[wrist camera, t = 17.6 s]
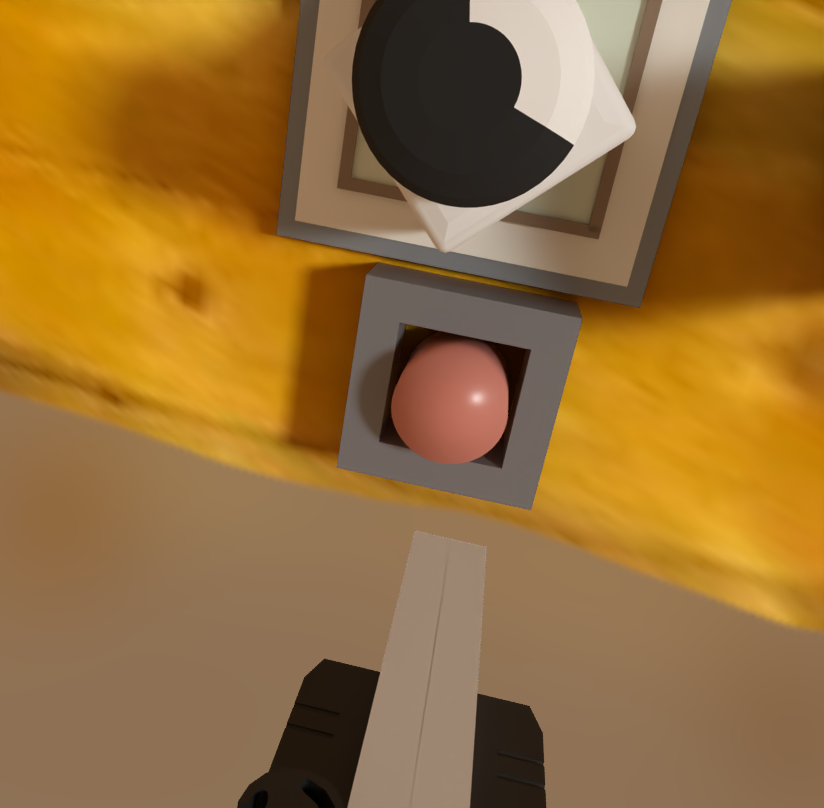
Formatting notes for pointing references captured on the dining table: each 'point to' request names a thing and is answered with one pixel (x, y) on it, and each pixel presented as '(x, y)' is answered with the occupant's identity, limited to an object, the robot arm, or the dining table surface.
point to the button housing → (473, 317)
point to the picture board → (547, 213)
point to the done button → (452, 398)
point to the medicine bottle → (478, 104)
